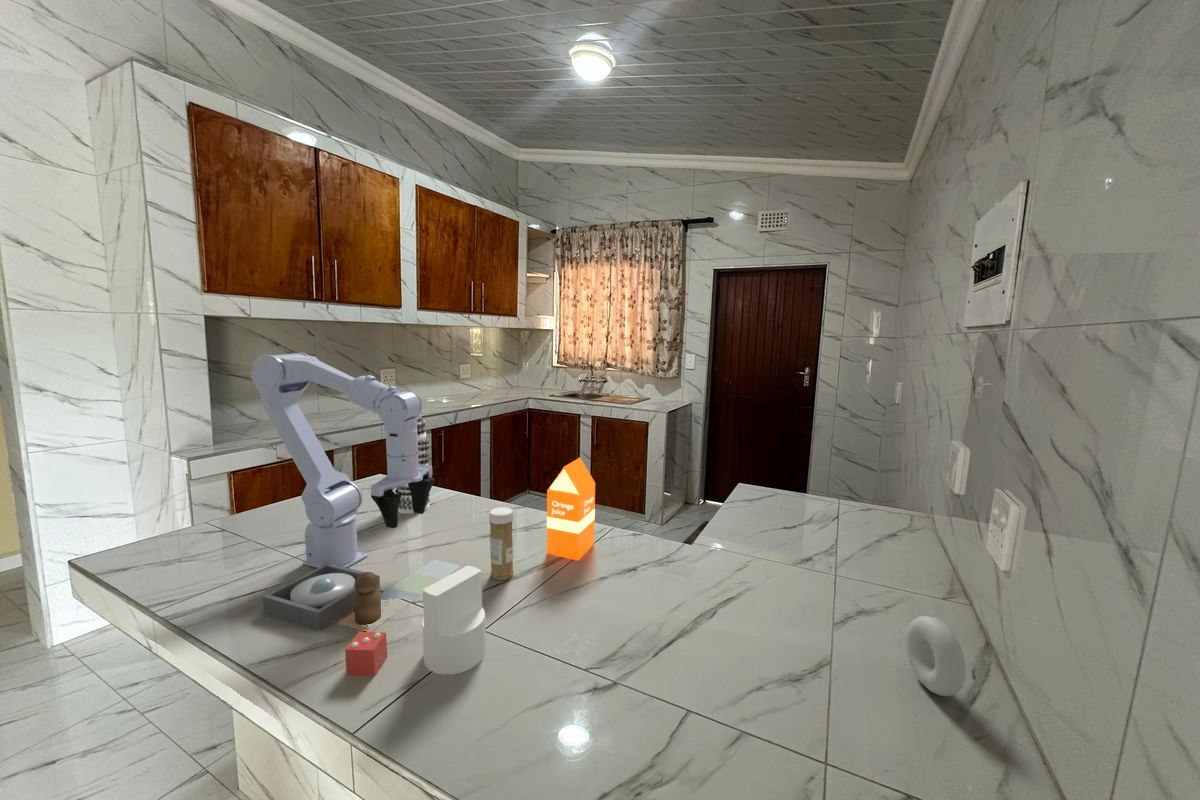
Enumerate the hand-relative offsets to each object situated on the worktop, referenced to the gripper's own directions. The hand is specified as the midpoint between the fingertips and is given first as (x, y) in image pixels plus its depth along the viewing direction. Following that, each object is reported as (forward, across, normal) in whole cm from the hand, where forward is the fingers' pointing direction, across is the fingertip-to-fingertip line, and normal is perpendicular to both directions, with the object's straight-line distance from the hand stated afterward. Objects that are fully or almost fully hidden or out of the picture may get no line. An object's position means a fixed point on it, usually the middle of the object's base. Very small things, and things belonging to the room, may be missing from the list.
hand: (405, 519), depth 98 cm
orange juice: (+11, +21, -27) cm, 36 cm away
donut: (+11, +1, -91) cm, 91 cm away
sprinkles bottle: (+11, +5, -19) cm, 22 cm away
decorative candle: (+10, +27, +22) cm, 36 cm away
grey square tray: (+10, -15, +5) cm, 19 cm away
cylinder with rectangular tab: (+11, -18, -25) cm, 32 cm away
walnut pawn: (+10, -16, -6) cm, 20 cm away
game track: (+10, -7, -6) cm, 14 cm away
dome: (+10, -15, +5) cm, 19 cm away
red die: (+10, -25, -15) cm, 31 cm away
